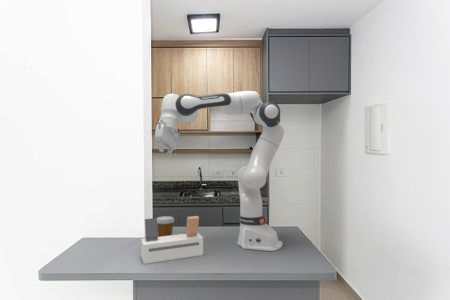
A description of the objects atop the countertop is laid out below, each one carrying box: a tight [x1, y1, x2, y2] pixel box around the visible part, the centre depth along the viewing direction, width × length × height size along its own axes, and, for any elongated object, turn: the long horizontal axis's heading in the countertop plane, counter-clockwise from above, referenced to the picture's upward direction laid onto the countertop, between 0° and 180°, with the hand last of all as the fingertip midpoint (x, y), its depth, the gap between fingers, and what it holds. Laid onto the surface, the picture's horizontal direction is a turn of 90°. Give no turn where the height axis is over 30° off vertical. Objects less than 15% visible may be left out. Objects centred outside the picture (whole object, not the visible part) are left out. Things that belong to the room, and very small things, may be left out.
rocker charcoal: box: [144, 217, 158, 241], centre depth 132 cm, size 2×5×9 cm, turn 112°
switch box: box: [140, 232, 204, 265], centre depth 134 cm, size 9×26×8 cm, turn 113°
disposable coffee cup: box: [156, 215, 175, 237], centre depth 156 cm, size 10×10×12 cm
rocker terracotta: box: [185, 215, 200, 236], centre depth 136 cm, size 2×5×9 cm, turn 112°
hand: (165, 154), depth 141 cm, fingers open, 8 cm apart
